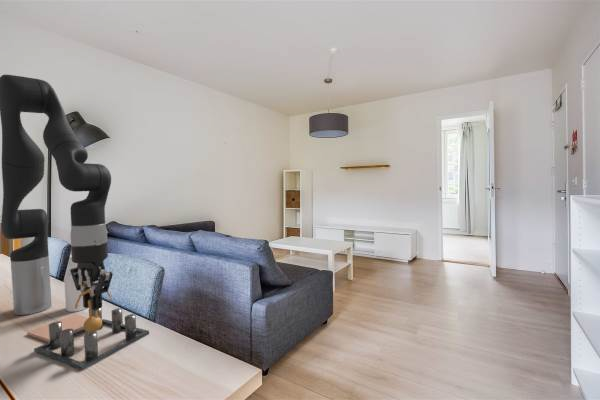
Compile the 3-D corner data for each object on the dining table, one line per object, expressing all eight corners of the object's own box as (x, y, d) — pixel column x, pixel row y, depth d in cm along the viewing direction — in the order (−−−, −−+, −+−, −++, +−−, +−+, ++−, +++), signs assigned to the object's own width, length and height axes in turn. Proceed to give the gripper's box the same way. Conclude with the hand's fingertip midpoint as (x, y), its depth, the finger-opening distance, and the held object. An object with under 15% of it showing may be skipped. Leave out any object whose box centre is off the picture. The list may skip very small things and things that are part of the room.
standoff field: (34, 351, 72) (32, 328, 71) (103, 321, 87) (102, 302, 87) (82, 370, 64) (80, 344, 64) (149, 333, 80) (148, 312, 80)
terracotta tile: (27, 334, 80) (27, 331, 80) (75, 316, 91) (75, 313, 91) (50, 342, 76) (50, 339, 76) (98, 322, 87) (98, 319, 87)
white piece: (96, 305, 100) (93, 253, 99) (75, 313, 93) (72, 257, 92) (82, 302, 102) (79, 251, 101) (61, 310, 96) (57, 256, 95)
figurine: (74, 341, 71) (82, 297, 70) (67, 327, 75) (74, 285, 73) (112, 330, 78) (120, 289, 76) (103, 317, 82) (111, 279, 80)
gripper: (56, 242, 74) (60, 309, 75) (91, 247, 68) (95, 319, 69) (87, 237, 81) (90, 298, 82) (122, 241, 75) (125, 306, 76)
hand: (92, 307), depth 76 cm, fingers closed on figurine, 2 cm apart
